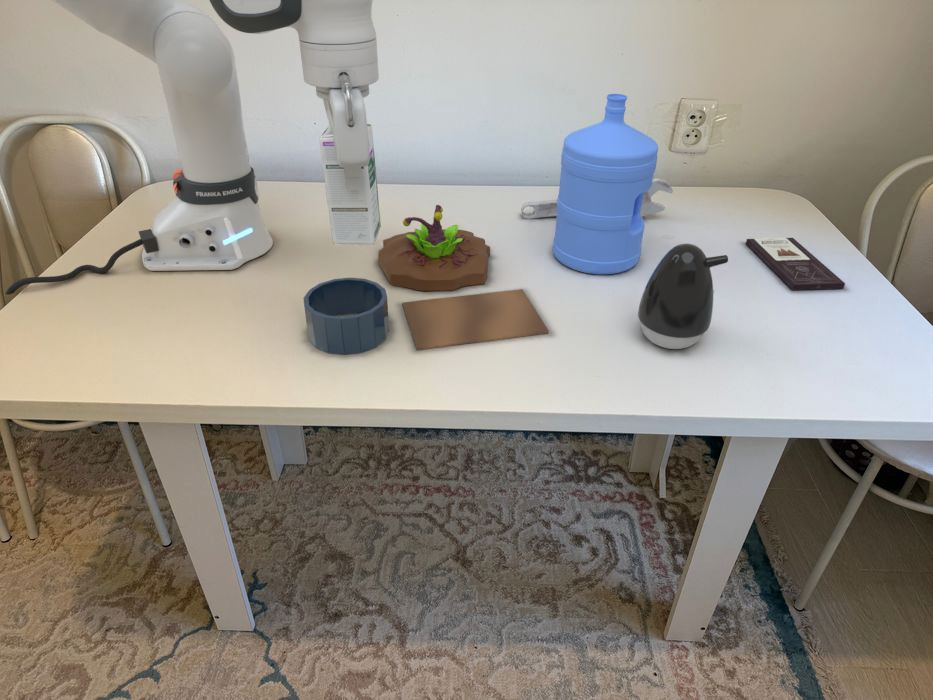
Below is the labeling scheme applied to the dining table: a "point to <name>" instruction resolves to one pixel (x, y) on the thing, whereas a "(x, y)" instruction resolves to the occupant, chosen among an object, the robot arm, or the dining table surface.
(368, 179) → the syrup box
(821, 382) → the dining table surface
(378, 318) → the pipe section
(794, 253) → the chocolate bar
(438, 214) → the plant
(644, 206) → the wrench
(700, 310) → the pump dispenser
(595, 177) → the water jug
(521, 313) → the brown flat rectangular board
